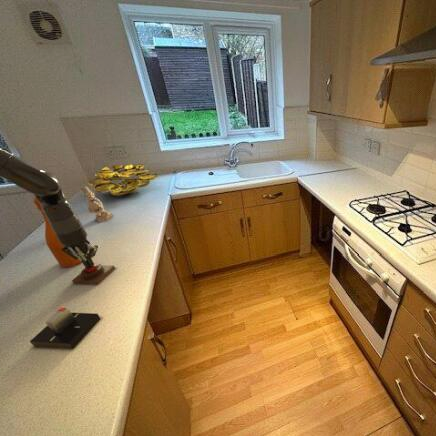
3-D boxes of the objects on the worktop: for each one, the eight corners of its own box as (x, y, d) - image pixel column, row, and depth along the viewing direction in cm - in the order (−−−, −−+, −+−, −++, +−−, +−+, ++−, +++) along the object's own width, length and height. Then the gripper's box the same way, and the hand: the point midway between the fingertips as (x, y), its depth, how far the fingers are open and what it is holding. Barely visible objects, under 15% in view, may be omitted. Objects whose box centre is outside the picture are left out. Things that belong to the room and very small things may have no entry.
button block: (74, 284, 90) (69, 276, 88) (93, 269, 98) (88, 261, 96) (98, 285, 90) (94, 277, 88) (116, 269, 97) (112, 261, 96)
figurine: (96, 218, 139) (80, 185, 129) (113, 214, 142) (99, 182, 132) (93, 224, 132) (76, 191, 122) (111, 221, 135) (96, 187, 125)
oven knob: (60, 334, 68) (50, 321, 66) (54, 334, 68) (44, 321, 66) (75, 319, 73) (67, 307, 70) (69, 319, 73) (60, 306, 70)
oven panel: (35, 348, 68) (29, 341, 67) (66, 318, 77) (61, 311, 75) (74, 350, 67) (68, 343, 66) (101, 320, 76) (97, 313, 74)
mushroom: (96, 211, 147) (83, 184, 139) (92, 191, 178) (82, 168, 170) (166, 193, 169) (159, 169, 161) (152, 178, 200) (145, 157, 192)
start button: (83, 273, 91) (81, 269, 90) (91, 267, 94) (89, 263, 93) (92, 273, 91) (90, 270, 90) (100, 267, 94) (98, 263, 93)
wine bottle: (74, 269, 98) (34, 203, 84) (54, 268, 100) (12, 202, 85) (95, 255, 107) (62, 193, 92) (76, 253, 108) (41, 192, 94)
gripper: (40, 233, 80) (65, 273, 89) (76, 234, 79) (98, 274, 88) (60, 222, 87) (82, 260, 95) (94, 222, 86) (113, 260, 94)
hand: (90, 266), depth 91 cm, fingers closed
